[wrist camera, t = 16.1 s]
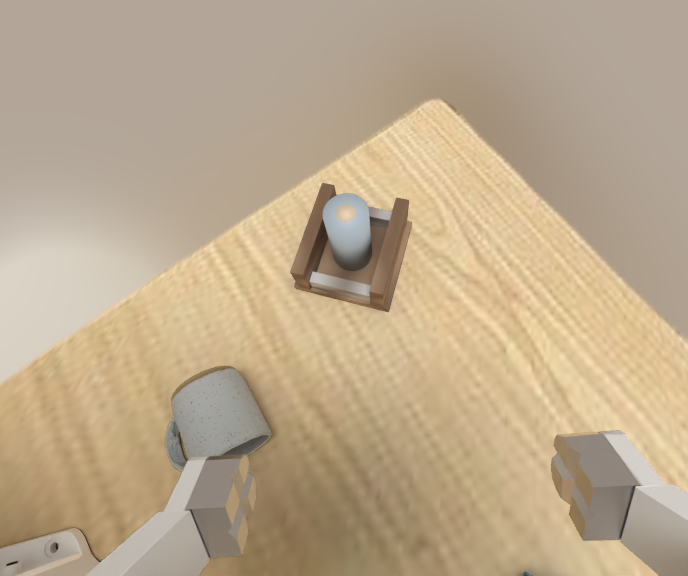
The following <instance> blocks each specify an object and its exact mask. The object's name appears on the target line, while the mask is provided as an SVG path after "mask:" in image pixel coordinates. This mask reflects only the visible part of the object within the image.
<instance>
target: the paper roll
mask: <svg viewBox="0 0 688 576" xmlns="http://www.w3.org/2000/svg"><path fill="white" fill-rule="evenodd" d="M323 221H324V224H325V227H326V231H327V234H328V238H329V241H330V244H331V248H332V251H333V255H334V258H335V261H336V263H337V264H338V265H339V266H340V267H341V268H342V269H344V270H347V271H358V270H361V269H363V268H364V267H366V266H367V265H368V263H369V262H370V260H371V258H372V244H371V231H370V218H369V208H368V205H367V203H366V202H365V201H364V200H363V199H362V198H361V197H359V196H357V195H355V194H350V193H344V194H339V195H337V196H335V197H333V198H331V199H330V200H329V201H328V202H327V203H326V205H325V207H324V209H323Z"/></svg>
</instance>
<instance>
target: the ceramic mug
mask: <svg viewBox="0 0 688 576" xmlns="http://www.w3.org/2000/svg"><path fill="white" fill-rule="evenodd" d="M171 402H172V410H173V415H174V418H173V419H172V420H171V422H170V424H169V425H168V428H167V432H166V450H167V454H168V457H169V460H170V462H171V463H172V465H173V466H174V467H175V468H176V469H177V470H179V471H181V472H182V471H183V469H184V467H185V465H186V463H187V460H186V459H185V458H184V456H183V452H182V449H181V445H180V439H179V432H180V435H181V438H182V441H183V445H184V448H185V451H186V454H187V457H188V460H189V459H190V458H191V457H207V456H226V455H247V456H248V455H250V454H251V453H253V452H254V451H256V450H257V449H258V448H260V447H261V446H262V445H264V444H265V443H266V442H267V441H268V440H269V439H270V437H271V435H272V434H271V430H270V428H269V426H268V424H267V422H266V421H265V419H264V417H263V415H262V413H261V411H260V409H259V407H258V405H257V403H256V401H255V399H254V397H253V395H252V393H251V391H250V389H249V387H248V385H247V383H246V381H245V379H244V378H243V376H242V375H241V374H240V372H239V371H238V370H237V369H235V368H233V367H230V366H220V367H214V368H211V369H208V370H205V371H203V372H200V373H198V374H196V375H194V376H193V377H191V378H189V379H188V380H186V381H185V382H184V383H182V384H181V385H180V386H179V387H178V388H177V389H176V391H175V392H174V394H173V396H172V399H171Z"/></svg>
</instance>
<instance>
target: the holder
mask: <svg viewBox="0 0 688 576" xmlns="http://www.w3.org/2000/svg"><path fill="white" fill-rule="evenodd" d="M335 196H336V192H335V187H334V185H330V184H325V183H322V185H321V188H320V191H319V193H318V196H317V199H316V202H315V205H314V207H313V210H312V213H311V216H310V219H309V221H308V224H307V227H306V230H305V232H304V235H303V238H302V241H301V244H300V246H299V249H298V252H297V255H296V258H295V260H294V263H293V266H292V269H291V274H292V276H293V277H294V279H295V281H296V282H295V285H294V286H295V288H296V289H299V290H303V291H307V292H311V293H315V294H319V295H323V296H327V297H331V298H335V299H339V300H343V301H347V302H351V303H355V304H359V305H363V306H367V307H371V308H374V309H378V310H382V311H386V312H389V309H390V305H391V301H392V298H393V294H394V290H395V286H396V283H397V279H398V275H399V271H400V268H401V264H402V260H403V256H404V253H405V249H406V245H407V241H408V238H409V234H410V230H411V227H412V222H409V221H407V216H408V206H409V200H406V199H401V198H396V200H395V204H394V207H393V211H388V210H383V209H378V208H373V207H368V208H369V218H370V231H371V244H372V258H371V260H370V262H369V263H368V265H367V266H366V267H364V268H363V269H361V270H358V271H347V270H344V269H342V268H341V267H340V266H339V265H338V264H337V263H336V261H335V258H334V255H333V251H332V248H331V244H330V241H329V238H328V234H327V231H326V227H325V224H324V221H323V209H324V207H325V205H326V203H327V202H328V201H329V200H330V199H331V198H333V197H335Z"/></svg>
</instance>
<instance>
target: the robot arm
mask: <svg viewBox="0 0 688 576" xmlns="http://www.w3.org/2000/svg"><path fill="white" fill-rule="evenodd" d="M554 447H555V449H556V451H557V454H556V455H555V456H554V457H553V458H552V461H551V472H552V478H553V482H554V485H555V487H556V490H557V492H558V494H559V496H560V498H562V499H563V500H564V501H566V502H567V503H568V504H570V511H569V515H570V517H571V519H572V521H573V523H574V525H575V527H576V529H577V531H578V532H579V534H580V536H581V538H582V540H583V541H589V540H621V541H620V542H621V543H622V544H623V545H625V546H626V547H627V548H628V549H629V550H630V551H631V552H633V553H634V554H635V555H636V556H637V557H638V558H640V559H641V560H642V561H643V562H644V563H645V564H647V565H648V566H649V567H650V568H651V569H652V570H653V571H655V572H656V573H657V574H658V575H659V576H688V493H687V492H685V491H683V490H682V489H680V488H678V487H676V486H675V485H666V484H665V482H664V481H663V480H662V479H661V478H660V476H659V475H658V474H657V473H656V471H655V470H654V469H653V468H652V467H651V465H650V464H649V463H648V462H647V461H646V459H645V458H644V457H643V456H642V454H641V453H640V452H639V451H638V450H637V448H636V447H635V446H634V445H633V443H632V442H631V441H630V440H629V439H628V437H627V436H626V435H625V434H624V433H623V432H621V431H620V430H615V431H601V432H586V433H572V434H559V435H557V436H556V437H555V440H554ZM249 466H250V463H249V460H248V457H247V455H226V456H207V457H191V458H190V459H189V460H188V461H187V463H186V465H185V467H184V469H183V471H182V473H181V476H180V478H179V480H178V482H177V484H176V486H175V488H174V490H173V493H172V495H171V497H170V499H169V501H168V503H167V505H166V507H165V509H164V512H158V513H156V514H155V515H154V516H153V517H152V518H151V519H150V520H148V521H147V522H146V523H145V524H144V525H143V526H142V527H140V528H139V529H138V530H137V531H136V532H135V533H134V534H132V535H131V536H130V537H129V538H128V539H127V540H126V541H124V542H123V543H122V544H121V545H120V546H119V547H117V548H116V549H115V550H114V551H113V552H112V553H111V554H109V555H108V556H107V557H106V558H105V559H104V560H103V561H101V562H98V561H97V560H96V559H95V558H94V556H93V555H92V554H91V551H90V549H89V546H88V544H87V541H86V539H85V537H84V535H83V534H82V532H81V531H80V530H78V529H76V528H71V529H67V530H63V531H60V532H56V533H52V534H49V535H45V536H42V537H38V538H35V539H31V540H27V541H24V542H20V543H17V544H13V545H9V546H6V547H2V548H0V576H198V575H199V574H200V572H201V571H202V570H203V569H204V567H205V566H206V565H207V563H208V562H209V561H210V559H209V558H219V557H233V556H242V555H243V551H244V547H245V543H246V539H247V536H248V532H249V529H248V526H247V522H246V521H247V520H248V518H249V517H250V516H251V515H252V514H253V511H254V507H255V502H256V484H255V480H254V476H253V475H251V474H250V473H249V472H248V470H249ZM56 544H58V550H56Z"/></svg>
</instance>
